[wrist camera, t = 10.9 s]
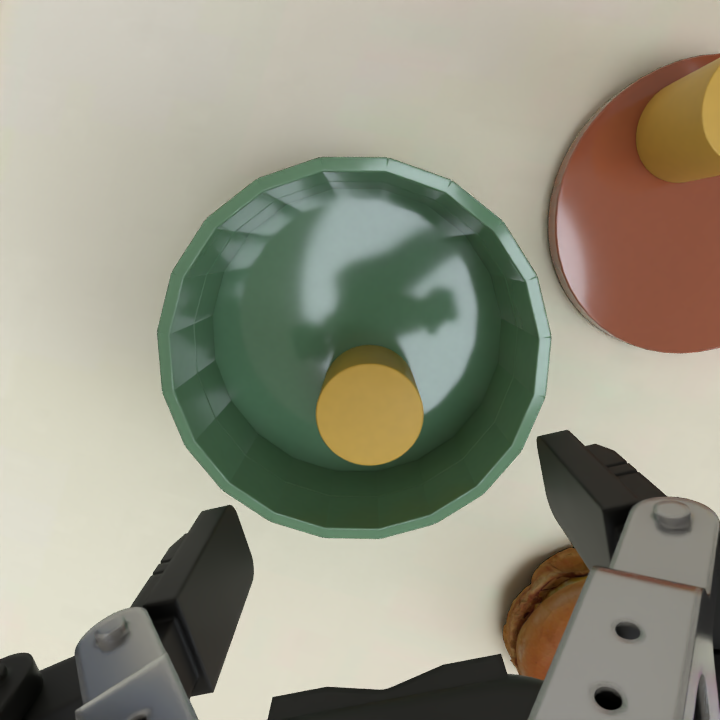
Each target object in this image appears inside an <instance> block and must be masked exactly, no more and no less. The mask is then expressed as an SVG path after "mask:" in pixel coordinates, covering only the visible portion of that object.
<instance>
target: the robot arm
mask: <svg viewBox="0 0 720 720" xmlns="http://www.w3.org/2000/svg"><path fill="white" fill-rule="evenodd" d="M537 449H538V454H539V459H540V465H541V470H542V475H543V481H544V486H545V491H546V496H547V499H548V503H549V506H550V508H551V511H552V513H553V515H554V517H555V519H556V520H557V522H558V523H559V525H560V526H561V528H562V529H563V531H564V532H565V534H566V535H567V537H568V539H569V540H570V542H571V543H572V545H573V546H574V548H575V549H576V551H577V552H578V554H579V555H580V557H581V558H582V560H583V561H584V563H585V564H586V566H587V567H588V569H589V570H590V572H589V574H588V576H587V578H586V581H585V583H584V586H583V588H582V590H581V593H580V595H579V598H578V600H577V602H576V605H575V607H574V610H573V612H572V614H571V617H570V619H569V622H568V624H567V626H566V629H565V631H564V633H563V636H562V638H561V641H560V643H559V645H558V648H557V650H556V653H555V655H554V657H553V660H552V662H551V665H550V667H549V669H548V672H547V674H546V677H545V679H544V680H541V679H537V678H533V677H528V676H522V675H514V674H507V672H506V669H505V665H504V662H503V659H502V656H501V654H498V655H492V656H487V657H482V658H477V659H471V660H466V661H461V662H455V663H450V664H445V665H442V666H439V667H437V668H435V669H432V670H430V671H428V672H426V673H423V674H421V675H419V676H416V677H414V678H412V679H409V680H407V681H405V682H403V683H400V684H398V685H396V686H393V687H391V688H388V689H384V690H374V689H356V688H338V687H324V688H318V689H313V690H308V691H303V692H297V693H292V694H287V695H281V696H276V697H273V698H272V702H271V707H270V711H269V716H268V720H720V521H719V518H718V516H717V515H716V513H715V512H714V511H713V510H711V509H710V508H709V507H707V506H705V505H703V504H701V503H699V502H696V501H693V500H690V499H686V498H679V497H667V496H666V495H665V494H664V493H663V492H662V491H660V490H659V489H658V488H657V487H656V486H655V485H653V484H652V483H651V482H650V481H649V480H648V479H647V478H645V477H644V476H643V475H642V474H641V473H640V472H637V470H636V469H635V468H634V467H633V466H631V465H630V464H629V463H628V464H627V461H626V460H625V459H623V458H622V457H621V456H620V455H619V454H618V453H616V452H615V451H614V450H611V449H608V448H605V447H603V446H600V445H597V444H593V445H588V446H584V445H583V444H582V443H581V442H580V441H579V440H578V439H577V438H576V437H575V436H574V435H573V434H572V433H571V432H570V431H569V430H564V431H560V432H555V433H551V434H546V435H542V436H538V437H537ZM253 575H254V566H253V559H252V555H251V552H250V549H249V547H248V544H247V541H246V538H245V535H244V532H243V529H242V526H241V524H240V521H239V518H238V515H237V512H236V510H235V509H234V507H233V506H231V505H227V506H223V507H218V508H214V509H209V510H205V511H202V512H201V513H200V515H199V516H198V518H197V519H196V521H195V523H194V524H193V526H192V527H191V529H190V531H189V532H188V533H187V534H184V535H183V536H182V537H181V538H180V539H179V540H178V541H177V542H175V543H174V544H173V545H172V546H171V547H170V548H169V549H168V551H167V552H166V554H165V555H164V557H163V559H162V560H161V564H159V565H158V566H157V568H156V569H155V571H154V572H153V576H151V577H150V578H149V580H148V581H147V583H146V584H145V586H144V587H143V589H142V590H141V592H140V593H139V595H138V596H137V598H136V599H135V601H134V602H133V604H132V605H131V607H130V608H127V609H123V610H121V611H118V612H116V613H113V614H112V615H110V616H108V617H106V618H105V619H103V620H101V621H100V622H99V623H97V624H96V625H95V626H93V627H92V628H91V629H90V630H89V631H88V632H87V633H86V634H85V635H84V636H83V637H82V638H81V640H80V641H79V643H78V645H77V647H76V649H75V656H73V657H71V658H68V659H66V660H64V661H61V662H59V663H57V664H54V665H52V666H50V667H47V668H45V669H43V670H40V671H39V669H38V667H37V665H36V663H35V661H34V659H33V657H32V656H31V655H30V654H29V653H17V654H13V655H10V656H7V657H5V658H2V659H0V720H198V718H197V716H196V714H195V711H194V709H193V707H192V705H191V703H190V700H189V699H190V697H191V696H197V695H202V694H207V693H212V692H214V689H215V686H216V683H217V681H218V678H219V675H220V672H221V669H222V666H223V664H224V661H225V658H226V655H227V652H228V649H229V647H230V644H231V641H232V638H233V635H234V632H235V630H236V627H237V624H238V621H239V618H240V615H241V613H242V610H243V607H244V604H245V601H246V598H247V596H248V593H249V590H250V587H251V584H252V581H253Z"/></svg>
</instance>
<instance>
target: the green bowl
mask: <svg viewBox="0 0 720 720" xmlns="http://www.w3.org/2000/svg"><path fill="white" fill-rule="evenodd" d="M157 332H158V333H157V338H158V349H159V361H160V373H161V384H162V391H163V395H164V398H165V400H166V402H167V405H168V407H169V409H170V412H171V414H172V417H173V419H174V421H175V424H176V426H177V428H178V431H179V433H180V436H181V438H182V440H183V443H184V445H186V448H187V449H188V450H189V451H190V453H191V454H192V455H193V456H194V457H195V459H196V460H197V461H198V462H199V463H200V465H201V466H202V467H203V468H204V469H205V471H206V472H207V473H208V474H209V475H210V476H211V478H212V479H213V480H214V481H215V482H216V484H217V485H218V486H219V487H220V488H221V489H223V491H224V492H226V493H227V494H229V495H230V496H232V497H233V498H235V499H236V500H238V501H239V502H241V503H242V504H244V505H245V506H247V507H248V508H250V509H252V510H253V511H255V512H256V513H258V514H259V515H261V516H262V517H264V518H265V519H267V520H268V521H270V522H273V523H276V524H280V525H283V526H286V527H289V528H293V529H296V530H299V531H302V532H306V533H309V534H312V535H316V536H319V537H322V538H323V537H324V538H355V539H380V538H381V539H382V538H386V537H389V536H393V535H397V534H400V533H404V532H408V531H411V530H415V529H419V528H422V527H426V526H430V525H433V524H436V523H438V522H439V521H441V520H442V519H444V518H446V517H447V516H449V515H451V514H452V513H454V512H455V511H457V510H459V509H460V508H462V507H464V506H465V505H467V504H468V503H470V502H472V501H473V500H475V499H477V498H478V497H480V496H481V495H483V493H485V492H486V491H487V490H488V489H489V487H490V486H491V485H492V484H493V483H494V482H495V481H496V480H497V478H498V477H499V476H500V475H501V474H502V473H503V472H504V470H505V469H506V468H507V467H508V466H509V465H510V464H511V463H512V461H513V460H514V459H515V458H516V457H517V456H518V455H519V453H520V452H521V450H522V449H523V447H524V445H525V442H526V440H527V438H528V436H529V433H530V431H531V429H532V427H533V424H534V422H535V420H536V417H537V415H538V413H539V411H540V408H541V406H542V404H543V402H544V399H545V396H546V388H547V378H548V367H549V357H550V347H551V332H550V328H549V324H548V319H547V315H546V311H545V306H544V302H543V298H542V293H541V289H540V285H539V281H538V277H537V274H536V273H535V271H534V270H533V268H532V266H531V265H530V263H529V262H528V260H527V258H526V257H525V255H524V254H523V252H522V250H521V249H520V247H519V246H518V244H517V242H516V241H515V239H514V238H513V236H512V235H511V233H510V231H509V230H508V228H507V227H506V225H505V223H504V222H502V220H501V219H500V218H499V217H497V216H496V215H495V214H494V213H492V212H491V211H490V210H489V209H487V208H486V207H485V206H484V205H482V204H481V203H480V202H479V201H477V200H476V199H475V198H474V197H472V196H471V195H470V194H469V193H467V192H466V191H465V190H464V189H462V188H461V187H460V186H459V185H457V184H456V183H455V182H454V181H451V180H450V179H448V178H445V177H442V176H439V175H437V174H434V173H431V172H428V171H425V170H423V169H420V168H417V167H414V166H411V165H408V164H406V163H403V162H400V161H397V160H394V159H392V158H387V157H321V158H320V157H318V158H316V159H313V160H310V161H307V162H304V163H301V164H298V165H295V166H292V167H289V168H286V169H283V170H280V171H277V172H275V173H272V174H269V175H266V176H263V177H260V178H258V179H256V180H255V181H253V182H252V183H251V184H249V185H248V186H247V187H246V188H244V189H243V190H242V191H241V192H239V193H238V194H237V195H235V196H234V197H233V198H232V199H230V200H229V201H228V202H227V203H225V204H224V205H223V206H221V207H220V208H219V209H218V210H216V211H215V212H214V213H213V214H211V215H210V216H209V217H207V220H205V221H204V222H203V224H202V225H201V227H200V229H199V230H198V232H197V233H196V235H195V236H194V238H193V239H192V241H191V243H190V244H189V246H188V247H187V249H186V250H185V252H184V254H183V255H182V257H181V258H180V260H179V261H178V263H177V264H176V266H175V268H174V269H173V271H172V273H171V276H170V280H169V284H168V288H167V293H166V297H165V301H164V305H163V309H162V313H161V317H160V321H159V325H158V330H157ZM362 345H377V346H382V347H385V348H388V349H390V350H392V351H394V352H395V353H397V354H398V355H399V356H400V357H402V358H403V360H404V361H405V362H406V363H407V364H408V366H409V367H410V369H411V371H412V374H413V377H414V380H415V382H416V385H417V388H418V391H419V394H420V397H421V400H422V403H423V409H424V419H423V425H422V429H421V432H420V434H419V436H418V438H417V440H416V441H415V443H414V444H413V446H412V447H411V448H410V449H409V450H408V451H407V452H406V453H404V454H403V455H402V456H400V457H399V458H397V459H395V460H393V461H391V462H388V463H385V464H380V465H372V466H368V465H359V464H355V463H352V462H349V461H347V460H344V459H343V458H341V457H339V456H338V455H336V454H335V453H334V452H333V451H332V450H331V449H330V448H329V447H328V446H327V445H326V444H325V442H324V441H323V439H322V437H321V435H320V433H319V430H318V427H317V423H316V406H317V401H318V398H319V395H320V392H321V389H322V386H323V382H324V379H325V376H326V373H327V371H328V369H329V367H330V366H331V364H332V363H333V362H334V360H335V359H336V358H337V357H338V356H340V355H341V354H342V353H344V352H345V351H347V350H349V349H351V348H354V347H357V346H362Z"/></svg>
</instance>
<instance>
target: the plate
mask: <svg viewBox="0 0 720 720" xmlns="http://www.w3.org/2000/svg"><path fill="white" fill-rule="evenodd" d="M718 58H720V54H709V55H699V56H695V57H691V58H687V59H683V60H679V61H676V62H674V63H671V64H668V65H666V66H663V67H660V68H658V69H656V70H655V71H653V72H651V73H649V74H647V75H645V76H643V77H641V78H640V79H638V80H636V81H635V82H633V83H632V84H630V85H629V86H627V87H626V88H624V89H623V90H622V91H620V92H619V93H617V94H616V95H614V96H613V97H612V98H611V99H610V100H609V101H608V102H606V103H605V104H604V105H603V106H602V107H601V108H600V109H599V110H598V111H597V112H596V113H595V114H594V115H593V116H592V117H591V119H590V120H589V121H588V122H587V123H586V124H585V125H584V127H583V128H582V130H581V131H580V132H579V134H578V135H577V137H576V138H575V140H574V141H573V143H572V144H571V146H570V148H569V150H568V152H567V154H566V156H565V158H564V159H563V162H562V164H561V167H560V169H559V172H558V174H557V177H556V180H555V184H554V187H553V191H552V195H551V200H550V208H549V215H548V238H549V245H550V253H551V257H552V261H553V265H554V268H555V271H556V274H557V276H558V279H559V281H560V283H561V286H562V287H563V289H564V291H565V292H566V294H567V296H568V297H569V299H570V301H571V302H572V303H573V304H574V306H575V307H576V308H577V309H578V311H579V312H580V313H581V314H582V315H583V316H584V317H585V318H586V319H587V320H589V321H590V322H591V323H592V324H593V325H594V326H596V327H597V328H599V329H600V330H602V331H603V332H605V333H606V334H608V335H610V336H612V337H614V338H616V339H618V340H620V341H623V342H625V343H628V344H631V345H634V346H637V347H640V348H643V349H646V350H652V351H657V352H663V353H693V352H702V351H707V350H712V349H717V348H720V175H719V176H714V177H709V178H704V179H699V180H694V181H689V182H683V183H672V182H667V181H664V180H661V179H659V178H657V177H656V176H654V175H653V174H652V173H650V172H649V171H648V170H647V169H646V167H645V166H644V165H643V163H642V161H641V159H640V157H639V154H638V151H637V146H636V132H637V126H638V122H639V119H640V117H641V114H642V112H643V110H644V109H645V107H646V105H647V104H648V103H649V101H650V100H651V99H652V98H653V97H654V95H656V94H657V93H658V92H659V91H660V90H662V89H663V88H664V87H666V86H668V85H670V84H672V83H673V82H675V81H677V80H679V79H681V78H683V77H685V76H686V75H688V74H690V73H692V72H694V71H696V70H698V69H700V68H701V67H703V66H705V65H707V64H709V63H711V62H713V61H714V60H716V59H718Z"/></svg>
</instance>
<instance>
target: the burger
mask: <svg viewBox="0 0 720 720" xmlns="http://www.w3.org/2000/svg"><path fill="white" fill-rule="evenodd" d="M589 572H590V570H589V569H588V567H587V566H586V564H585V563H584V561H583V560H582V558H581V557H580V555H579V554H578V552H577V551H576V549H575V548H571V547H570V548H568V549H566V550H564V551H561V552H559V553H557V554H555V555H553V556H552V557H550V558H549V559H547V560H546V561H545V562H543V563H542V564H541V565H539V567H538V568H537V569H536V570H535V572H534V574H533V576H532V579H531V584H530V585H529V586H527V587H526V588H525V589H523V591H522V592H521V593H520V594H519V595H518V596H517V598H516V599H514V600H513V602H512V605H511V608H510V611H509V612H508V615H507V621H506V624H505V625H504V628H503V640H504V643H505V647H506V649H507V651H508V653H509V655H510V657H511V660H510V661H511V662H513V665H514V666H515V667H516V668H517V671H518V673H519V675H522V676H528V677H533V678H537V679H541V680H544V679H545V677H546V674H547V672H548V669H549V667H550V665H551V662H552V660H553V657H554V655H555V653H556V650H557V648H558V645H559V643H560V641H561V638H562V636H563V633H564V631H565V629H566V626H567V624H568V622H569V619H570V617H571V614H572V612H573V610H574V607H575V605H576V602H577V600H578V598H579V595H580V593H581V590H582V588H583V586H584V583H585V581H586V578H587V576H588V574H589Z"/></svg>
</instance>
